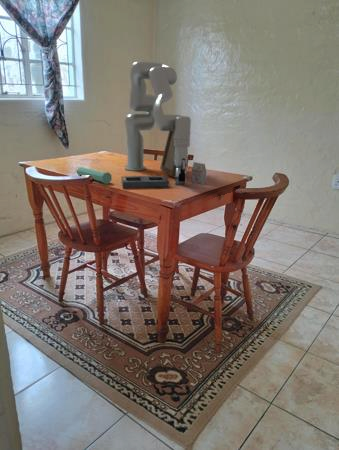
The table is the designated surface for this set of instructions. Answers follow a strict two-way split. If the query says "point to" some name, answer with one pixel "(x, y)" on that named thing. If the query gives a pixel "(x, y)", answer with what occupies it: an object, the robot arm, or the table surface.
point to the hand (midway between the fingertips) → (180, 179)
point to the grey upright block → (198, 173)
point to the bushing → (178, 177)
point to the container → (95, 174)
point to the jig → (145, 182)
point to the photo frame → (169, 156)
